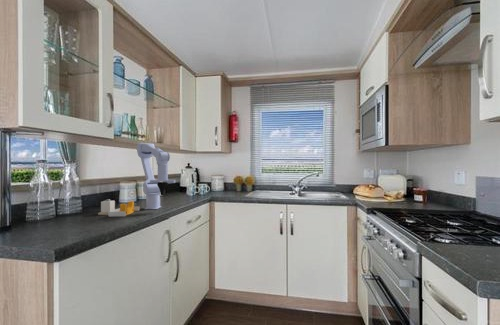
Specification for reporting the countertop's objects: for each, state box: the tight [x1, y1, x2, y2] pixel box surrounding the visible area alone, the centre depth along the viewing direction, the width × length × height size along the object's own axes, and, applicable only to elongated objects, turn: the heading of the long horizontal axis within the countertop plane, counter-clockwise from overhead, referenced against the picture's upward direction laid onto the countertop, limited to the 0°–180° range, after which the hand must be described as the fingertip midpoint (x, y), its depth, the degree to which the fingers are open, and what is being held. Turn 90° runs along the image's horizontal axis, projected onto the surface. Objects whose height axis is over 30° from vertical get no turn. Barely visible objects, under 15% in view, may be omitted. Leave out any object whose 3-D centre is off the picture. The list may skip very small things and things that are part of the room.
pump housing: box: [97, 198, 116, 216], centre depth 141 cm, size 7×7×8 cm
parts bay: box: [108, 205, 141, 218], centre depth 141 cm, size 18×9×2 cm, turn 0°
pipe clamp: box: [119, 200, 135, 216], centre depth 140 cm, size 12×4×6 cm, turn 4°
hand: (162, 195), depth 147 cm, fingers closed
